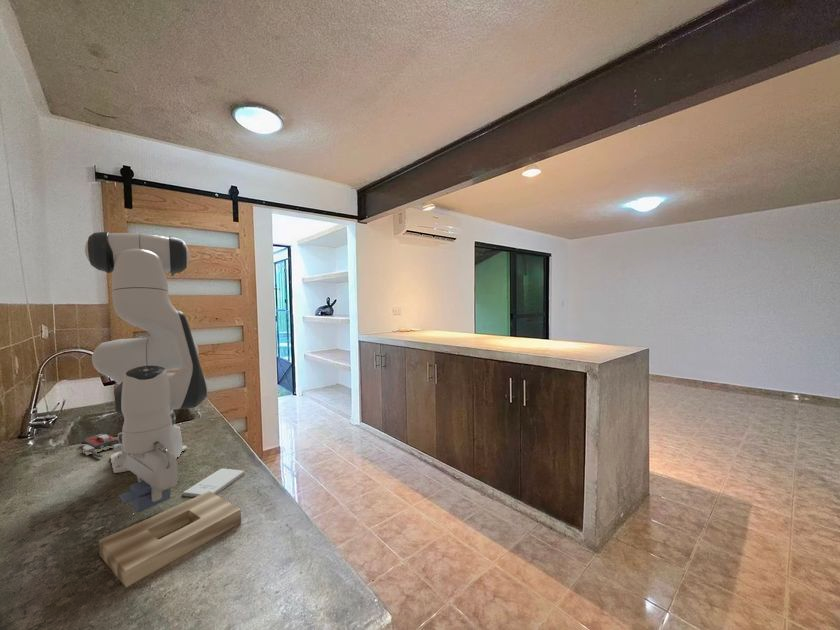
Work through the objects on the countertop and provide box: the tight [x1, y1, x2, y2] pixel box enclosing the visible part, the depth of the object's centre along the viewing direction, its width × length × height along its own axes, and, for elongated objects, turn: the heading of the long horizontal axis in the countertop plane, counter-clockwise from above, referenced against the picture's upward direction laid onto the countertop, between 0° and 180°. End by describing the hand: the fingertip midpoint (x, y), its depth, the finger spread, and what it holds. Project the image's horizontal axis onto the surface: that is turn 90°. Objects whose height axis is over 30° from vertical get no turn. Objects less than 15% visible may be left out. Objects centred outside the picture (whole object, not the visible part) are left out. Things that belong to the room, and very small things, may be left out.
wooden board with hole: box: [98, 491, 242, 588], centre depth 69 cm, size 14×20×3 cm
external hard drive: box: [181, 468, 246, 498], centre depth 90 cm, size 2×8×12 cm
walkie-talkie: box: [80, 433, 119, 458], centre depth 113 cm, size 9×4×20 cm
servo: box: [119, 478, 180, 513], centre depth 76 cm, size 4×10×6 cm, turn 148°
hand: (150, 495), depth 77 cm, fingers closed on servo, 4 cm apart
